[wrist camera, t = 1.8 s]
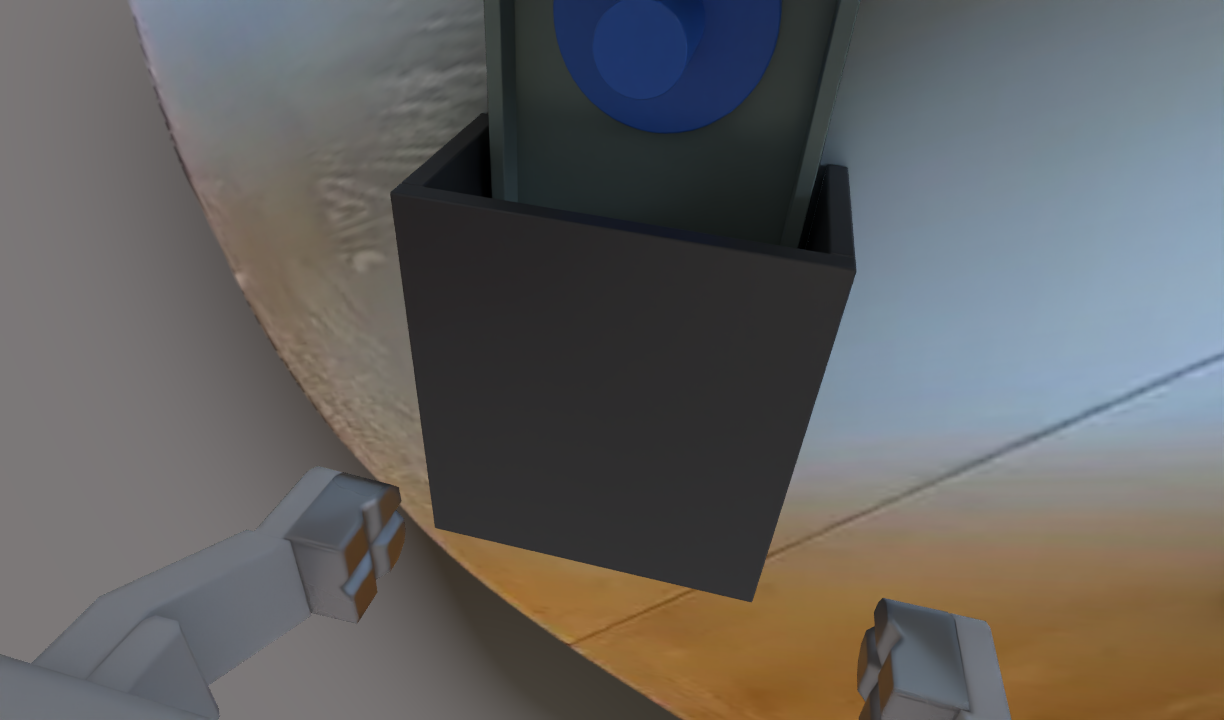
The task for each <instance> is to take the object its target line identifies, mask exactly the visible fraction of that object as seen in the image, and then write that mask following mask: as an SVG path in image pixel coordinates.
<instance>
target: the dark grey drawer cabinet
mask: <svg viewBox="0 0 1224 720" xmlns="http://www.w3.org/2000/svg"><path fill="white" fill-rule="evenodd" d="M390 195H391V203H392V210H393V218H394V225H395V232H396V240H397V247H398V255H399V262H400V270H401V277H402V285H403V292H404V299H405V307H406V314H407V322H408V329H409V337H410V344H411V352H412V359H413V366H414V374H415V381H416V389H417V396H418V404H419V411H420V419H421V426H422V433H423V441H424V448H425V456H426V463H427V471H428V478H429V486H430V493H431V501H432V508H433V515H434V523H435V528H438V529H442V530H446V531H451V532H455V533H459V534H463V535H468V536H472V537H476V538H480V539H485V540H489V541H493V542H497V543H502V544H506V545H510V546H514V547H518V548H523V549H527V550H531V551H535V552H540V553H544V554H548V555H552V556H557V557H561V558H565V559H569V560H574V561H578V562H582V563H586V564H591V565H595V566H599V567H603V568H608V569H612V570H616V571H620V572H625V573H629V574H633V575H637V576H642V577H646V578H650V579H654V580H659V581H663V582H667V583H671V584H676V585H680V586H684V587H688V588H693V589H697V590H701V591H705V592H710V593H714V594H718V595H722V596H727V597H731V598H735V599H739V600H744V601H748V602H752V601H753V598H754V594H755V591H756V588H757V585H758V582H759V579H760V575H761V572H762V569H763V566H764V563H765V560H766V556H767V553H768V550H769V547H770V544H771V541H772V537H773V534H774V531H775V528H776V525H777V522H778V518H779V515H780V512H781V509H782V506H783V503H784V499H785V496H786V493H787V490H788V487H789V484H790V480H791V477H792V474H793V471H794V468H795V465H796V461H797V458H798V455H799V452H800V449H801V446H802V442H803V439H804V436H805V433H806V430H807V427H808V423H809V420H810V417H811V414H812V411H813V408H814V404H815V401H816V398H817V395H818V392H819V389H820V385H821V382H822V379H823V376H824V373H825V370H826V366H827V363H828V360H829V357H830V354H831V351H832V347H833V344H834V341H835V338H836V335H837V332H838V328H839V325H840V322H841V319H842V316H843V313H844V309H845V306H846V303H847V300H848V297H849V294H850V290H851V287H852V284H853V281H854V278H855V275H856V260H855V248H854V236H853V223H852V211H851V199H850V186H849V174H848V168H847V167H843V166H836V165H827V167H826V171H825V175H824V178H823V182H822V186H821V190H820V194H819V198H818V202H817V205H816V209H815V213H814V217H813V221H812V225H811V229H810V232H809V236H808V240H807V244H806V248H805V250H803V249H797V248H791V247H785V246H779V245H773V244H766V243H760V242H754V241H748V240H742V239H736V238H730V237H724V236H718V235H712V234H706V233H700V232H694V231H688V230H682V229H675V228H669V227H663V226H657V225H651V224H645V223H639V222H633V221H627V220H621V219H615V218H609V217H603V216H597V215H591V214H585V213H578V212H572V211H566V210H560V209H554V208H548V207H542V206H536V205H530V204H524V203H518V202H512V201H506V200H500V199H494V198H492V188H491V164H490V139H489V115H488V114H485V113H481V114H480V115H479V116H478V117H477V118H476V119H474V120H473V121H472V122H471V123H470V124H469V125H467V126H466V127H465V128H464V129H463V130H462V131H461V132H459V133H458V134H457V135H456V136H455V137H454V138H452V139H451V140H450V141H449V142H448V143H447V144H446V145H444V146H443V147H442V148H441V149H440V150H439V151H437V152H436V153H435V154H434V155H433V156H432V157H431V158H429V159H428V160H427V161H426V162H425V163H424V164H422V165H421V166H420V167H419V168H418V169H417V170H416V171H414V172H413V173H412V174H411V175H410V176H409V177H407V178H406V179H405V180H404V181H403V182H402V184H399V185H398V186H397V187H396V188H395V189H394V190H392V191H391V194H390Z"/></svg>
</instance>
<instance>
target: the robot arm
mask: <svg viewBox="0 0 1224 720" xmlns="http://www.w3.org/2000/svg"><path fill="white" fill-rule="evenodd" d="M400 502H401V496H400V492H399V487H396V486H394V485H390V484H386V483H383V482H379V481H375V480H371V479H367V478H363V477H360V476H356V475H352V474H348V473H344V472H339V471H335V470H331V469H327V468H323V467H319V466H316V467H315V468H312V469H310V470H309V471H307V472H306V474H305V475H304V476H303V477H302V478H301V479H300V480H299V481H298V482H297V484H296V485H295V486H294V487H293V488H292V489H291V490H290V491H289V493H288V494H287V495H286V496H285V497H284V498H283V500H281V502H280V503H279V504H278V505H277V506H276V507H275V508H274V509H273V511H272V512H271V513H270V514H269V515H268V516H267V518H265V520H264V521H263V522H262V523H261V524H260V525H259V527H258V528H257V529H256V530H255V531H249V530H245V531H243V532H240V533H238V534H236V535H234V536H232V537H229V538H227V539H225V540H223V541H221V542H218V543H216V544H214V545H212V546H210V547H207V548H205V549H203V550H201V551H199V552H196V553H194V554H192V555H190V556H188V557H185V558H183V559H181V560H179V561H177V562H174V563H172V564H170V565H168V566H166V567H164V568H161V569H159V570H157V571H155V572H153V573H150V574H148V575H146V576H144V577H141V578H139V579H137V580H135V581H133V582H131V583H128V584H126V585H124V586H122V587H119V588H117V589H115V590H113V591H111V592H108V593H106V594H104V595H102V596H100V597H99V598H98V599H97V600H96V601H95V602H94V603H92V604H91V605H90V606H89V608H87V609H86V610H85V611H84V612H83V613H82V614H81V615H80V616H79V617H78V618H77V619H76V620H75V621H74V622H73V623H72V624H71V625H70V626H69V627H68V628H67V629H66V630H65V631H64V632H63V633H62V634H61V635H60V636H59V637H58V638H57V639H56V640H55V641H54V642H53V643H52V644H51V645H50V646H49V647H48V648H47V649H45V651H44V652H43V653H42V654H40V655H39V656H38V657H37V658H36V659H35V660H34V661H33V662H32V663H28V662H24V661H21V660H18V659H14V658H11V657H8V656H5V655H1V654H0V720H218V719H219V717H220V716H219V708H218V706H217V704H216V702H215V700H214V697H213V695H212V693H211V691H210V689H209V687H208V685H209V684H211V683H213V682H214V681H216V680H217V679H218V678H220V677H221V676H223V675H225V674H226V673H228V672H229V671H230V670H232V669H233V668H235V667H236V666H238V665H239V664H241V663H242V662H244V661H245V660H247V659H248V658H249V657H251V656H253V655H254V654H256V653H257V652H259V651H260V650H261V649H263V648H264V647H266V646H267V645H269V644H270V643H272V642H273V641H275V640H276V639H278V638H279V637H280V636H282V635H284V634H285V633H286V632H288V631H290V630H291V629H292V628H294V627H295V626H297V625H298V624H300V623H301V622H303V621H304V620H306V619H307V618H309V617H310V616H311V613H314V614H318V615H322V616H327V617H331V618H335V619H339V620H343V621H347V622H352V623H356V624H357V623H358V622H359V620H360V619H361V617H362V615H363V614H364V612H365V611H366V609H367V608H368V606H369V605H370V603H371V601H372V600H373V598H374V597H375V595H376V593H377V586H376V579H378V578H380V577H381V576H383V575H385V574H387V573H389V572H390V571H391V570H392V568H393V566H394V565H395V563H396V561H397V560H398V558H399V555H400V552H401V550H402V547H403V544H404V538H405V522H404V518H403V517H402V516H401V515H400V514H399V513H398V511H397V510H396V508H397V507H398V505H399V504H400ZM874 621H875V626H874V627H872V628H870V629H868V630H866V633H865V635H864V638H863V641H862V643H861V648H860V653H859V658H858V669H857V687H858V692H859V693H860V694H861V696H862V697H863V699H864V700H865V705H864V707H863V709H862V711H861V713H860V716H859V720H1011V716H1010V712H1009V707H1008V703H1007V699H1006V694H1005V690H1004V686H1003V681H1002V677H1001V673H1000V668H999V664H998V659H997V655H996V651H995V646H994V642H993V638H992V633H991V629H990V627H989V625H988V624H987V623H986V621H982V620H977V619H973V618H969V617H964V616H960V615H956V614H949V613H948V612H945V611H940V610H935V609H931V608H926V607H922V606H917V605H913V604H908V603H904V602H899V601H894V600H890V599H885V598H882V599H881V600H880V601H879V602H878V605H877V607H876V609H875V611H874Z"/></svg>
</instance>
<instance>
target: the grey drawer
mask: <svg viewBox="0 0 1224 720" xmlns="http://www.w3.org/2000/svg"><path fill="white" fill-rule="evenodd" d="M553 1H554V0H484V18H485V42H486V67H487V91H488V115H489V139H490V164H491V188H492V198H494V199H500V200H506V201H512V202H518V203H524V204H530V205H536V206H542V207H548V208H554V209H560V210H566V211H572V212H578V213H585V214H591V215H597V216H603V217H609V218H615V219H621V220H627V221H633V222H639V223H645V224H651V225H657V226H663V227H669V228H675V229H682V230H688V231H694V232H700V233H706V234H712V235H718V236H724V237H730V238H736V239H742V240H748V241H754V242H760V243H766V244H773V245H779V246H785V247H791V248H797V249H798V247H799V243H800V239H801V235H802V231H803V227H804V223H805V219H806V215H807V211H808V207H809V203H810V199H811V195H812V191H813V187H814V183H815V179H816V175H817V171H818V167H819V164H820V160H821V156H822V152H823V148H824V144H825V140H826V136H827V132H828V128H829V124H830V120H831V116H832V112H833V108H834V104H835V100H836V96H837V92H838V88H839V84H840V80H841V76H842V72H843V68H844V64H845V60H846V57H847V53H848V49H849V45H850V41H851V37H852V33H853V29H854V25H855V21H856V17H857V13H858V9H859V5H860V1H861V0H782V14H781V22H780V30H779V35H778V39H777V43H776V46H775V50H774V53H773V55H772V58H771V60H770V63H769V65H768V67H767V69H766V71H765V73H764V75H763V77H762V78H761V80H760V81H759V83H758V84H757V86H756V87H755V88H754V90H753V91H752V92H751V94H750V95H749V96H748V97H747V98H746V99H745V100H744V101H743V102H742V103H741V104H740V105H739V106H738V107H736V108H735V109H734V110H733V111H732V112H730V113H729V114H727V115H726V116H724V117H723V118H721V119H720V120H718V121H716V122H714V123H712V124H709V125H707V126H705V127H702V128H699V129H696V130H693V131H687V132H682V133H669V134H663V133H652V132H647V131H642V130H638V129H635V128H632V127H630V126H627V125H624V124H623V123H621V122H619V121H617V120H615V119H613V118H611V117H610V116H608V115H607V114H605V113H604V112H602V111H601V110H600V109H599V108H598V107H597V106H595V105H594V104H593V103H592V102H591V101H590V100H589V99H588V98H587V97H586V95H585V94H584V93H583V92H582V91H581V90H580V88H579V87H578V85H577V84H576V83H575V81H574V80H573V78H572V76H571V74H570V73H569V71H568V69H567V67H566V65H565V62H564V60H563V57H562V55H561V53H560V49H559V45H558V42H557V38H556V33H555V26H554V15H553Z"/></svg>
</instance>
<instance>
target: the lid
mask: <svg viewBox="0 0 1224 720" xmlns="http://www.w3.org/2000/svg"><path fill="white" fill-rule="evenodd" d="M781 14H782V0H554V1H553V15H554V26H555V33H556V38H557V42H558V45H559V49H560V53H561V55H562V57H563V60H564V62H565V65H566V67H567V69H568V71H569V73H570V74H571V76H572V78H573V80H574V81H575V83H576V84H577V85H578V87H579V88H580V90H581V91H582V92H583V93H584V94H585V95H586V97H587V98H588V99H589V100H590V101H591V102H592V103H593V104H594V105H595V106H597V107H598V108H599V109H600V110H601V111H602V112H604V113H605V114H607V115H608V116H610V117H611V118H613V119H615V120H617V121H619V122H621V123H623V124H624V125H627V126H630V127H632V128H635V129H638V130H642V131H647V132H652V133H663V134H669V133H682V132H687V131H693V130H696V129H699V128H702V127H705V126H707V125H709V124H712V123H714V122H716V121H718V120H720V119H721V118H723V117H724V116H726V115H727V114H729V113H730V112H732V111H733V110H734V109H735V108H736V107H738V106H739V105H740V104H741V103H742V102H743V101H744V100H745V99H746V98H747V97H748V96H749V95H750V94H751V92H752V91H753V90H754V88H755V87H756V86H757V84H758V83H759V81H760V80H761V78H762V77H763V75H764V73H765V71H766V69H767V67H768V65H769V63H770V60H771V58H772V55H773V53H774V50H775V46H776V43H777V39H778V35H779V30H780V22H781Z"/></svg>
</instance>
